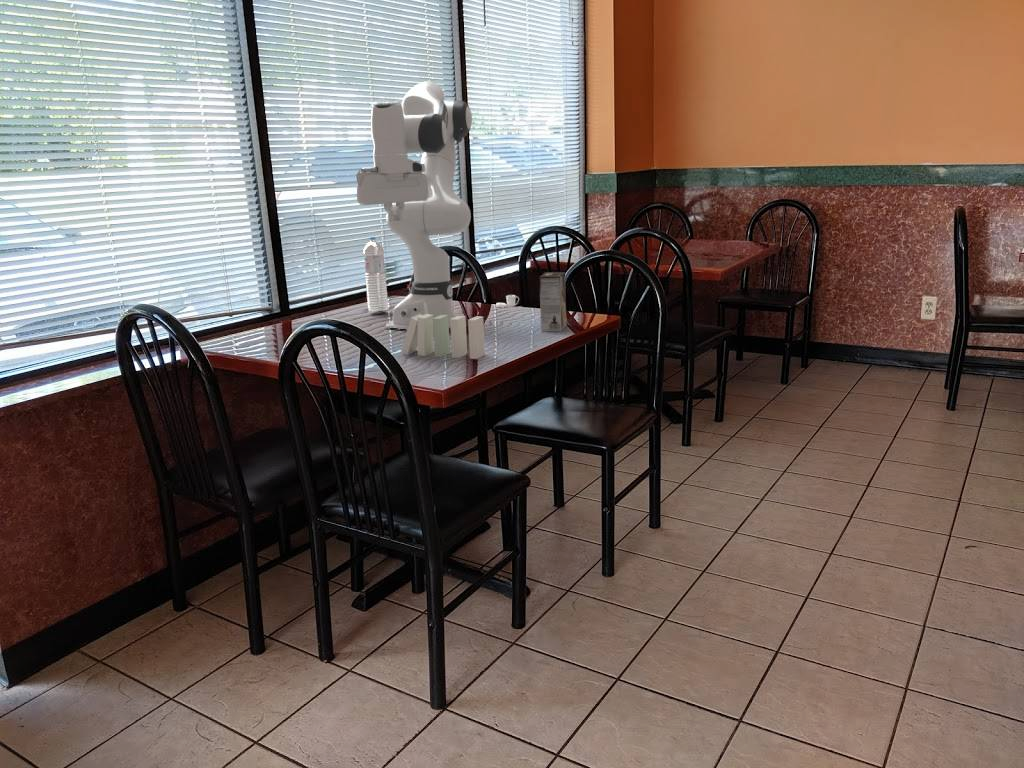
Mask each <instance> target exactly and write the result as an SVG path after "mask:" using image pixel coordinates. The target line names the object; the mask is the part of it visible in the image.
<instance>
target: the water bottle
mask: <svg viewBox="0 0 1024 768" xmlns="http://www.w3.org/2000/svg"><path fill="white" fill-rule="evenodd" d="M384 251H385V250H384V247H383V246H382V245H381V244H380V243H378V242H377V241H376V236H369V242H368V243H367V244H366V245H365V246H364V248H363V250H362V253H363V260H364V261H363V262H364V270H365V272H364V273H365V274H364V275H365V286H366V287H365V288H366V299H367V300H366V301H367V309H368V312H370V311H372V312H371V313H378V312H377V311H383V312H386V311H385V310H387V311H388V309H389V304H388V303H389V302H388V301H389V300H388V291H387V289H388V286H387V275H386V267H385V255H384V254H385V252H384Z"/></svg>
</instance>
